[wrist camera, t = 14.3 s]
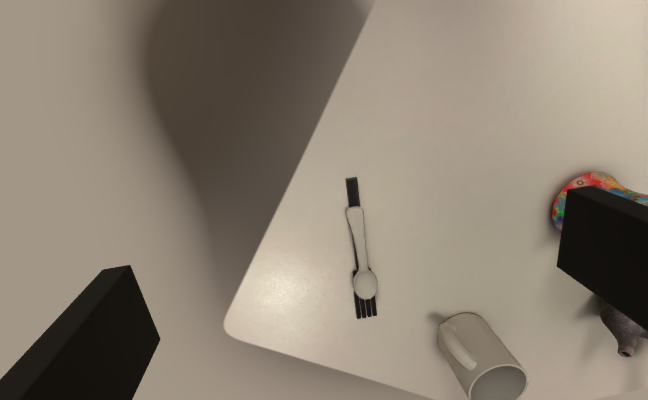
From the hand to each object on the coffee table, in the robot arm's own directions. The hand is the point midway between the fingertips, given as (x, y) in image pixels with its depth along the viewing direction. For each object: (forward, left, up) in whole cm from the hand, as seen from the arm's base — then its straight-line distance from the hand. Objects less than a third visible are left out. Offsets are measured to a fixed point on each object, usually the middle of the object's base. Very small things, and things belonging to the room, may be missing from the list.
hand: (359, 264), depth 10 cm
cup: (+30, +16, -27) cm, 43 cm away
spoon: (+15, +4, -26) cm, 31 cm away
